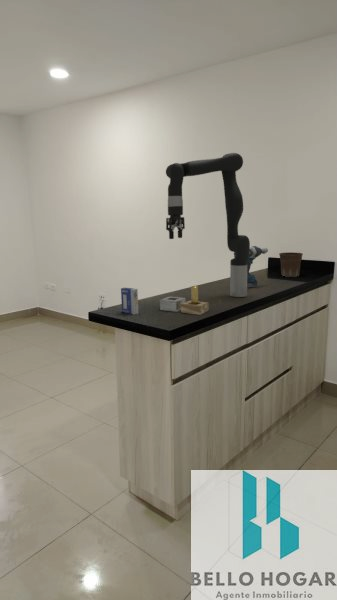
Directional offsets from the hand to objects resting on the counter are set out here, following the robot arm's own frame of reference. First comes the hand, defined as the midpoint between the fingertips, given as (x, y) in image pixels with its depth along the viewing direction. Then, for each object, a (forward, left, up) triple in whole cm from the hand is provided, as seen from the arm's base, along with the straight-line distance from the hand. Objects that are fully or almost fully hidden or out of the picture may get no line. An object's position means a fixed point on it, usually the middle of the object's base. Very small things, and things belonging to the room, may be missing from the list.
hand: (175, 238), depth 208 cm
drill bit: (+14, +18, -33) cm, 40 cm away
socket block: (+14, +6, -33) cm, 36 cm away
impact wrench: (-59, +18, -33) cm, 70 cm away
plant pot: (-111, +28, -33) cm, 119 cm away
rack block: (+14, +18, -33) cm, 40 cm away
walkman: (+30, -8, -33) cm, 46 cm away
